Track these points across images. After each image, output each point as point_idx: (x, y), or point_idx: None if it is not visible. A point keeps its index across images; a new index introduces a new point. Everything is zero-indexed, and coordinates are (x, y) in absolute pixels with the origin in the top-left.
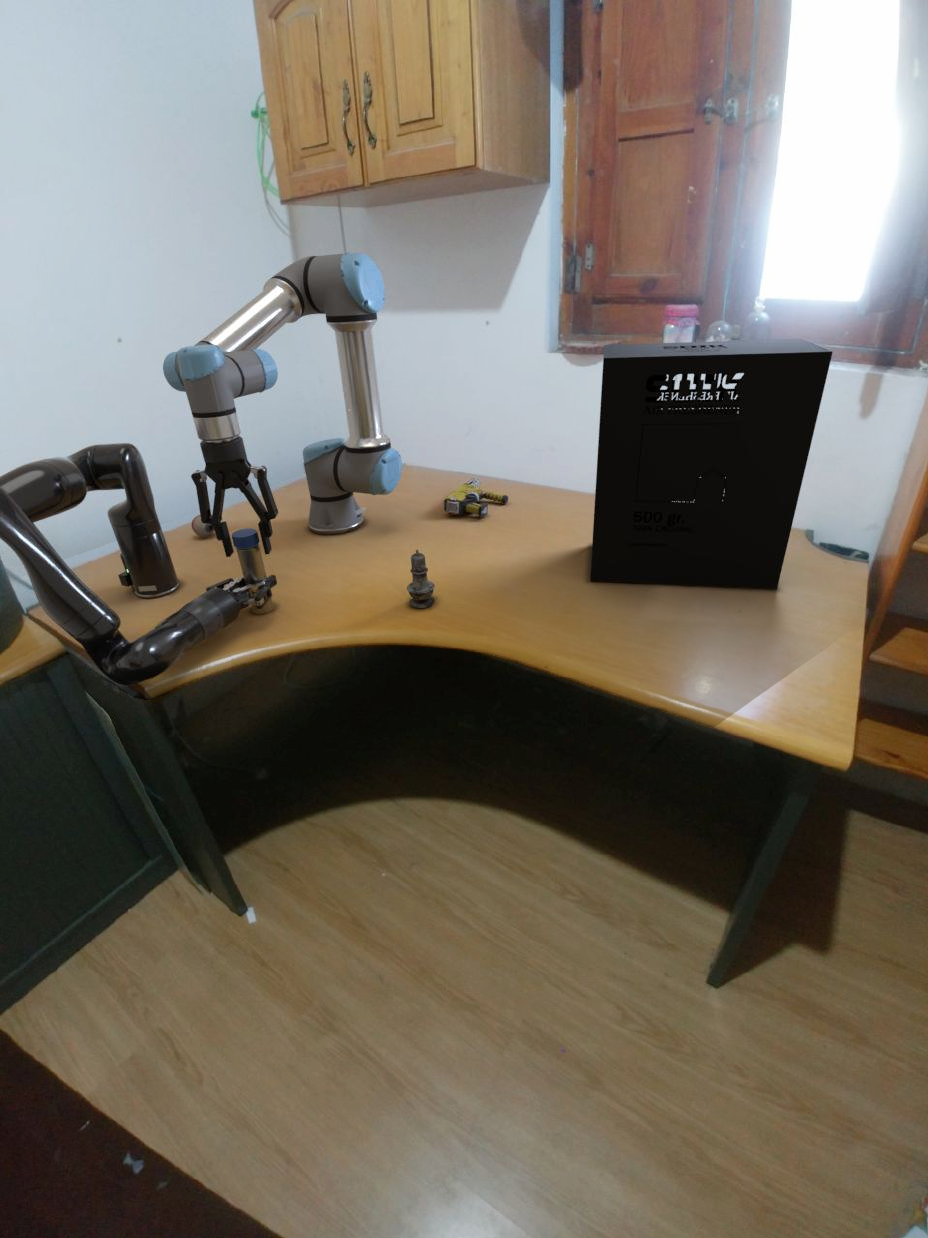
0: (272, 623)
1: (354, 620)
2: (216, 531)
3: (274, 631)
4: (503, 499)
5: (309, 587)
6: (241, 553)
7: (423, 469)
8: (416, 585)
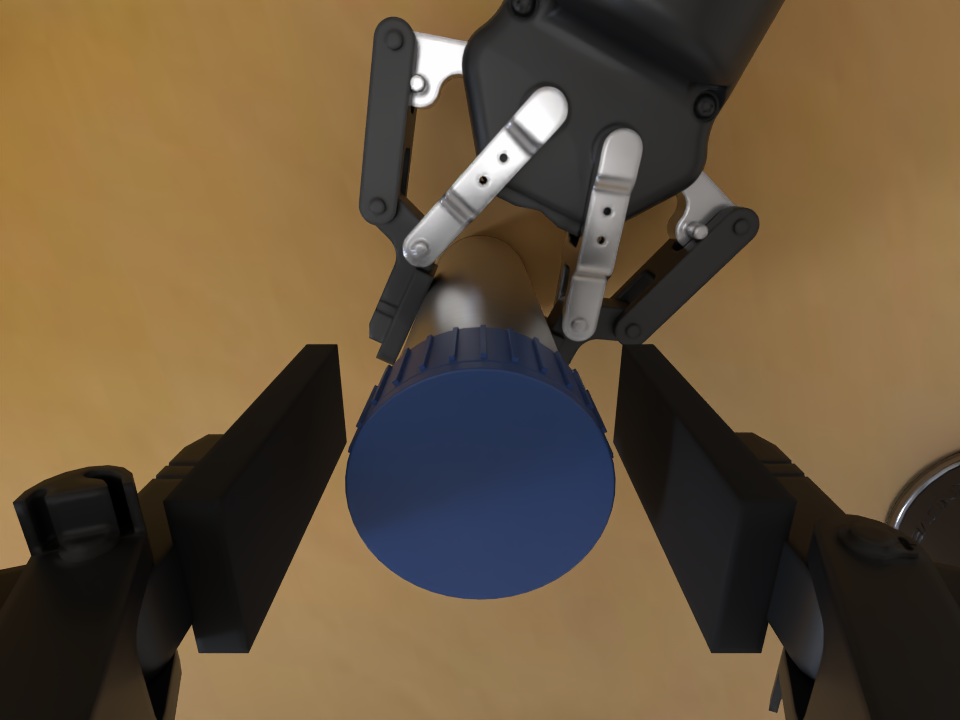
0: None
1: (5, 104)
2: (799, 488)
3: (370, 46)
4: None
5: None
6: (517, 327)
7: None
8: None
